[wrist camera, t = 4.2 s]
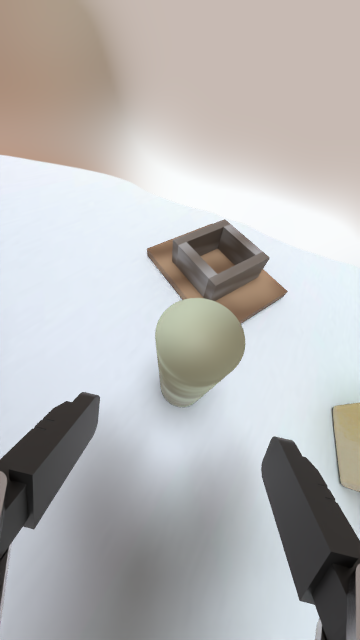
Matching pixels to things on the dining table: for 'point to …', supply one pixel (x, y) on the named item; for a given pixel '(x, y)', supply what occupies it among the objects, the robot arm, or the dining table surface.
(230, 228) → the jig
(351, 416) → the toy refrigerator
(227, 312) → the pale green cylinder
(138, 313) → the dining table surface
